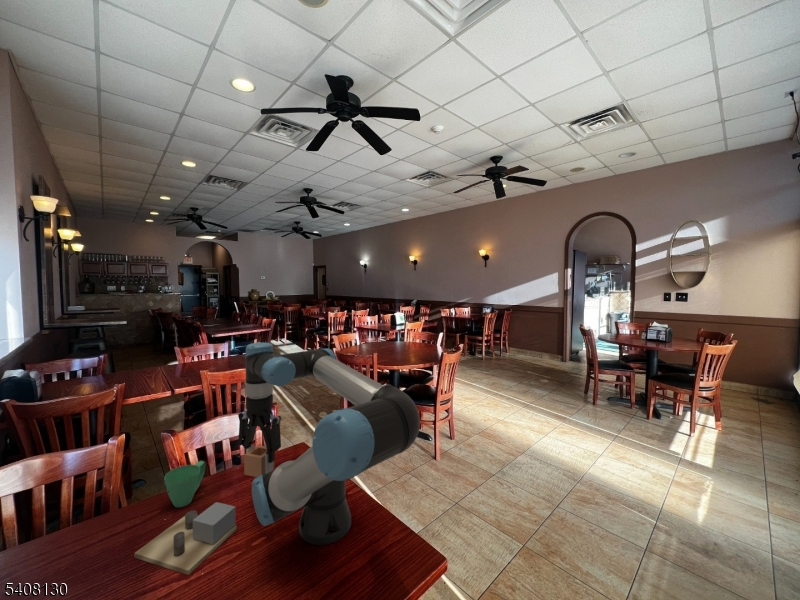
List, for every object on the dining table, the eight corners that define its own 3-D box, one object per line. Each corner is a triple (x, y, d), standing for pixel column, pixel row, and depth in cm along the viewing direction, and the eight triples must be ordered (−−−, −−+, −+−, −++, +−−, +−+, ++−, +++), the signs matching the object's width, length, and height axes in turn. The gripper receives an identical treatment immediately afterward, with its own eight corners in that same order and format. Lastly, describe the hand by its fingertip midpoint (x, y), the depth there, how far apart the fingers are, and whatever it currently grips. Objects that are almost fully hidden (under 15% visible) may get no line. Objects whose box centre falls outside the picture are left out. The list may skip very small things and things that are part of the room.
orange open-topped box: (274, 467, 102) (274, 448, 102) (261, 478, 96) (261, 458, 96) (258, 463, 104) (258, 445, 103) (244, 474, 98) (244, 454, 98)
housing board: (236, 529, 97) (236, 509, 97) (188, 575, 81) (188, 551, 81) (188, 516, 102) (188, 497, 101) (134, 557, 86) (134, 535, 86)
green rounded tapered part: (184, 514, 103) (184, 483, 102) (156, 511, 104) (156, 480, 104) (216, 486, 117) (216, 458, 117) (191, 483, 119) (191, 456, 118)
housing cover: (235, 524, 97) (235, 506, 97) (213, 544, 89) (213, 525, 89) (216, 519, 99) (216, 501, 99) (192, 538, 91) (192, 520, 91)
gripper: (294, 394, 100) (294, 469, 101) (242, 387, 105) (242, 458, 106) (278, 402, 93) (278, 483, 94) (223, 395, 98) (224, 471, 99)
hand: (259, 470), depth 100 cm, fingers closed on orange open-topped box, 6 cm apart
